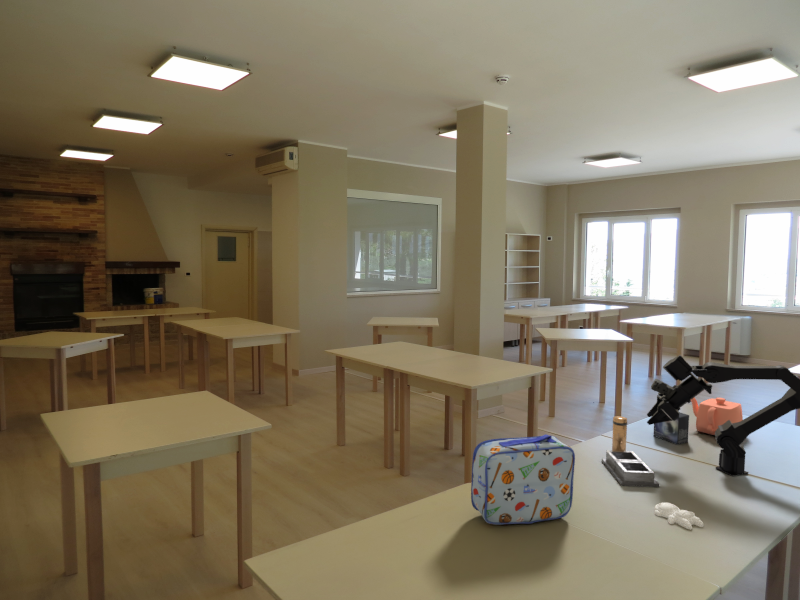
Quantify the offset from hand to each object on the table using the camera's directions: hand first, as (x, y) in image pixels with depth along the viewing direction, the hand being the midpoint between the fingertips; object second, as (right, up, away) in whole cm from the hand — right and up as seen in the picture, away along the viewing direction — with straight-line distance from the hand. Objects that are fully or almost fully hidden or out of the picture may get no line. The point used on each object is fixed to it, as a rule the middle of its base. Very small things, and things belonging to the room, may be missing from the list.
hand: (647, 419), depth 176 cm
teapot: (+39, -12, +30) cm, 51 cm away
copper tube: (-8, -13, +4) cm, 16 cm away
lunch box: (-51, -17, -39) cm, 67 cm away
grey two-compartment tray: (-11, -14, -11) cm, 22 cm away
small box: (+18, -12, +20) cm, 30 cm away
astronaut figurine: (-11, -17, -40) cm, 45 cm away
